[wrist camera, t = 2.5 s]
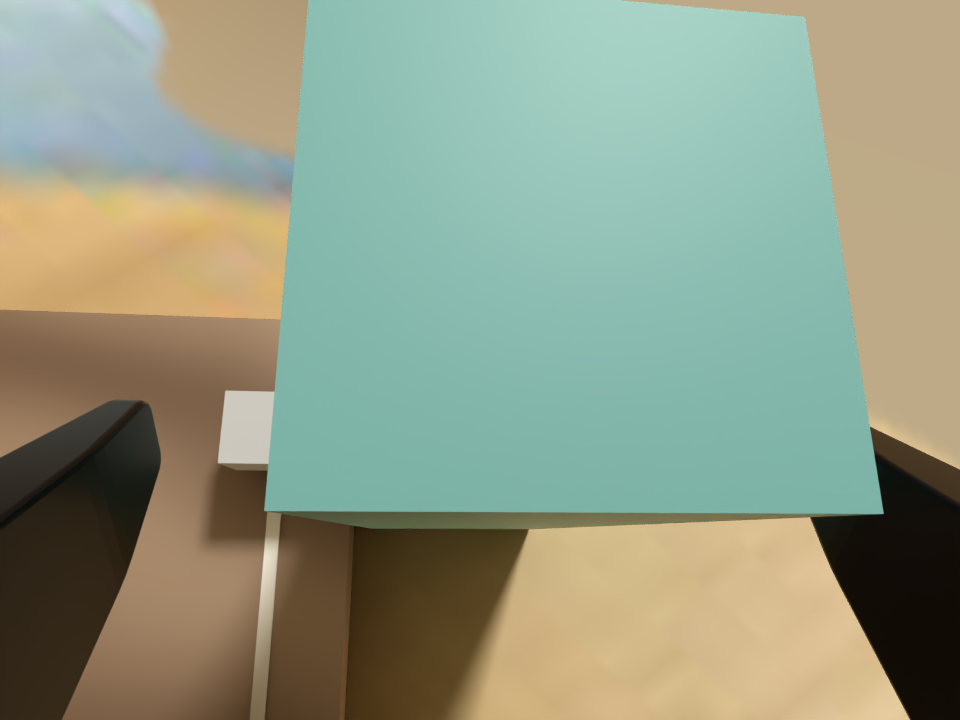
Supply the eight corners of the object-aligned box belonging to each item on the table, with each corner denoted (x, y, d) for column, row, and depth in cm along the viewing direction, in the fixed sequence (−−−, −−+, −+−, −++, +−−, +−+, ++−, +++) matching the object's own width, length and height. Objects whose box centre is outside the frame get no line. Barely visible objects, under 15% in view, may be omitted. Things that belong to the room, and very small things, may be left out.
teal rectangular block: (529, 529, 17) (884, 514, 4) (251, 528, 16) (-294, 508, 4) (526, 379, 18) (804, 18, 5) (266, 372, 17) (-119, -67, 5)
